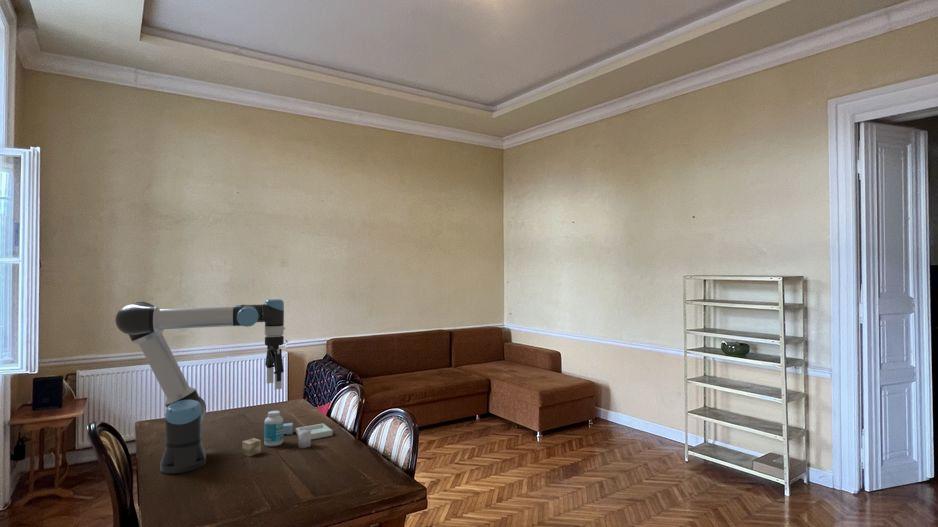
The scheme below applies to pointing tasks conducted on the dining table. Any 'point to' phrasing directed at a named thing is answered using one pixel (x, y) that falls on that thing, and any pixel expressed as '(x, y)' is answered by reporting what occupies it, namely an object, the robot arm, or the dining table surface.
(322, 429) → the tray
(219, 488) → the dining table surface
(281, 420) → the pill bottle
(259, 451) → the oak cube
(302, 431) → the grey cylinder
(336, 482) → the dining table surface
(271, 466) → the dining table surface
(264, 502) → the dining table surface
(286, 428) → the blue block
